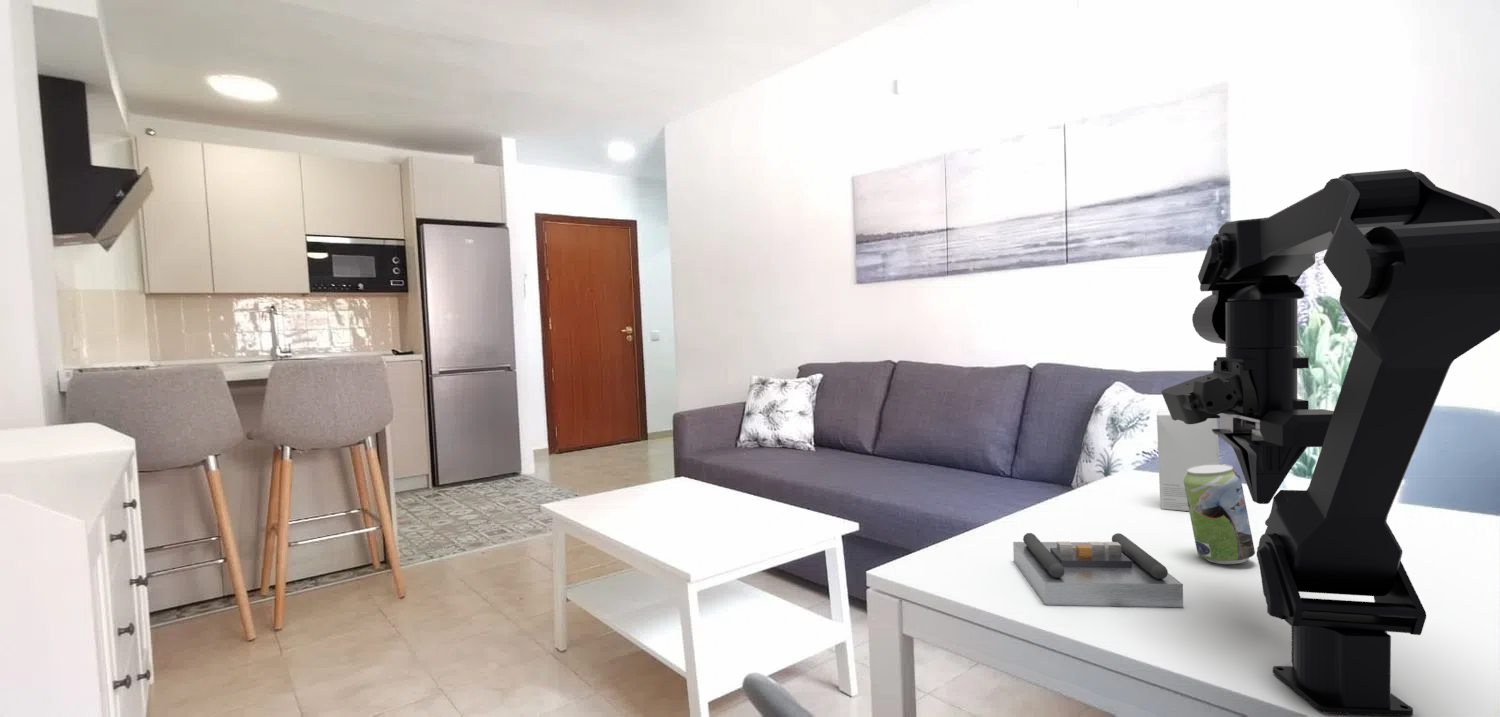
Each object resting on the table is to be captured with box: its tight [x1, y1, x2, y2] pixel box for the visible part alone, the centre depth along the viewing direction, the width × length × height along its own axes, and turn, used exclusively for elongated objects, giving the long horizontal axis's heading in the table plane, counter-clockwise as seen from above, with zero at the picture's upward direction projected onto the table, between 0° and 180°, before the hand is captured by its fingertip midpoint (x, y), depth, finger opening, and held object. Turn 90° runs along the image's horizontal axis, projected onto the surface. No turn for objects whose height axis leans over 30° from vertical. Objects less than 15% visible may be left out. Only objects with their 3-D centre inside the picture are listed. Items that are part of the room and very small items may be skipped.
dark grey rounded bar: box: [1022, 532, 1065, 578], centre depth 81 cm, size 13×2×2 cm, turn 172°
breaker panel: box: [1012, 541, 1184, 608], centre depth 81 cm, size 14×14×4 cm
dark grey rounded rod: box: [1111, 532, 1169, 579], centre depth 80 cm, size 13×2×2 cm, turn 172°
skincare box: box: [1156, 408, 1220, 512], centre depth 110 cm, size 8×7×16 cm
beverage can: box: [1184, 463, 1256, 565], centre depth 86 cm, size 6×7×12 cm
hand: (1261, 502), depth 69 cm, fingers closed
